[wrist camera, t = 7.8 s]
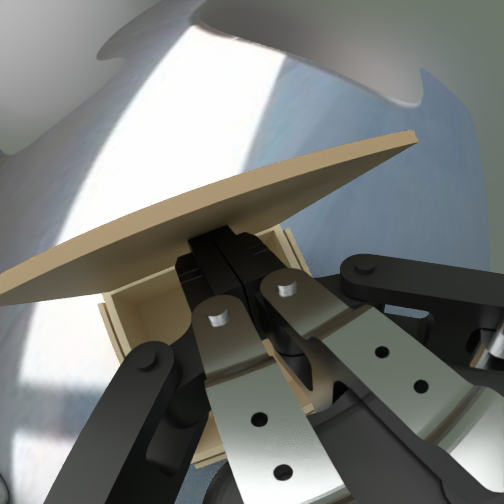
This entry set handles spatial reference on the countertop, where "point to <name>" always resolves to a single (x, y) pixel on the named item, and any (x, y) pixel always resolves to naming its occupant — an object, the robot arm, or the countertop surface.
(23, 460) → the countertop surface
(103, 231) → the flap
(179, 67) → the countertop surface
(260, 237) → the carton box
